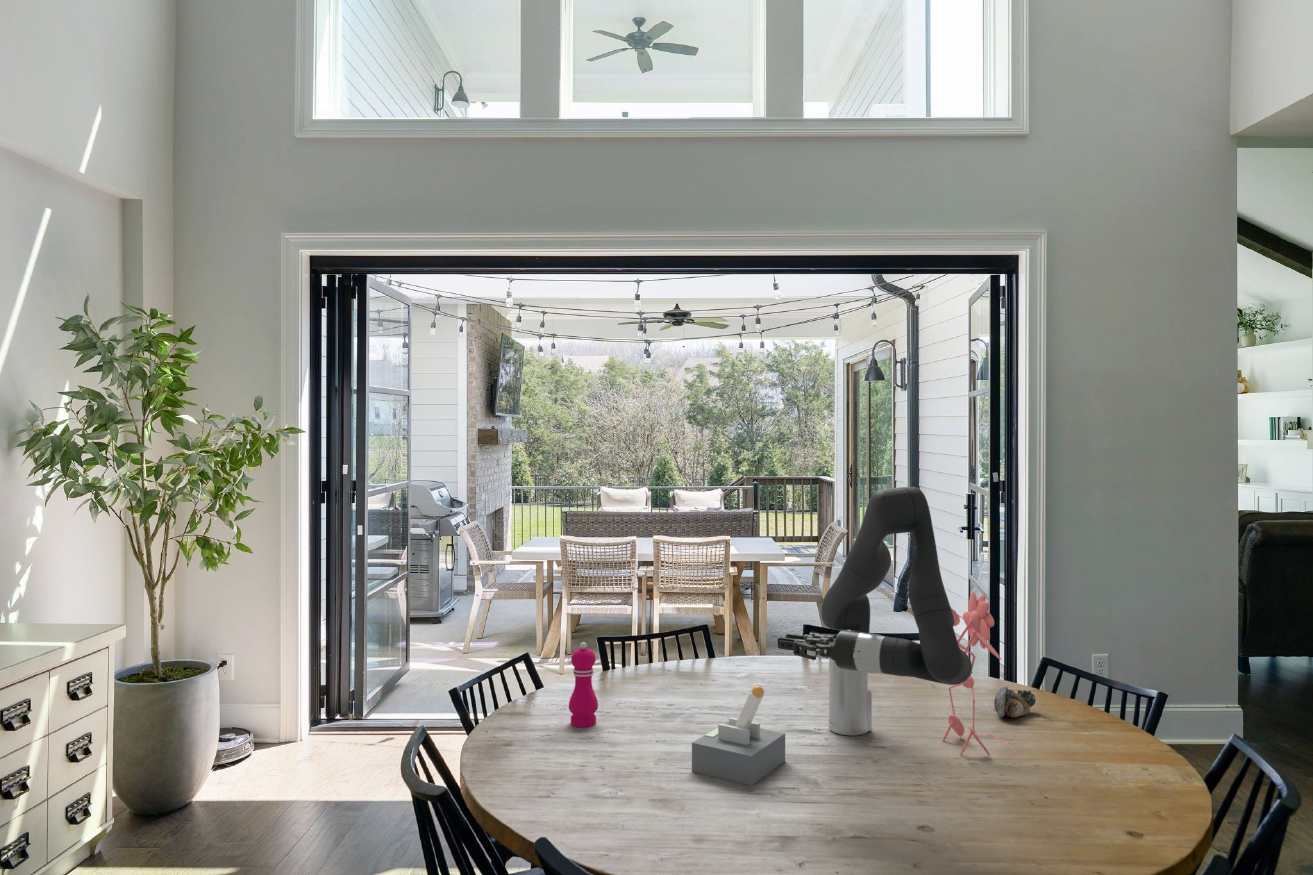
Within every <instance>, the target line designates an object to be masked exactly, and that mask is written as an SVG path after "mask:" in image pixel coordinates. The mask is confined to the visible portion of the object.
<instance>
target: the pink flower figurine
mask: <svg viewBox="0 0 1313 875" xmlns="http://www.w3.org/2000/svg"><path fill="white" fill-rule="evenodd" d="M967 609H968V611H964V612H963V613H962V620H963V622H964V624H965V625H966V626H965V628H964V630H963V631H962V632H961V634H960V635H959V637H958V638H957V642H958V645H959V647H960V649H961V650H962V651H964V652H965V653H966V654H967V653H968V654H969V655H971V656H972V659H971V664H972V670H973V668H974V665H975V660H976V655H975V654H974V653H973V652H972V651H970V650H969V649H970V647H975V646H976V645H977V644H978V642H979V645H980V647H981V648H982V649H984V650H985V649H987V650H988V651H989V652H990V653H991V654H992V655H993V656H994V657H996V658H997V659H998V660H1002V658H1001V657H1000V655H999V654H998V652H997V650H995V648H994V647H993V646H992V645H991V644H990V643H989V640H990V639H991V633H990V632H991V631H990V628H992V627H994V626H995V619H994V617H993V615H992V614H991V613H989V610H990V603H989V602H988V601H987V600H986V595H985V594H981V595H979V597H977V596H976V592H975V591H971V592H970V596H969V600H968V603H967ZM951 610H952V613H953V617H954V626H953V627H957V626H958V625H959V624H960V622H961V618H960V616H959V615H958V613H957V612H956V610H954V609H953V608H952V607H951ZM966 633H967V634H968V635H969V641H968V643H967V645H966V647H964V646H963V645H961V644H960V642H961V640H962V638H963V637H964V636H965V634H966ZM972 673H973V671H972V672H971V675H970V676H969V678H968V679H967V680H966V681H965V682H963V683H961V684H957V685H950V686H949V687H948V692H949V697H950V703H951V708H952V709H951V710H952V714H950V715H949V716H948V724H949V725H948V727H947V730H946V731H945V733H944V736H943V737H942V739H941V741H943V742H945V741H946V740H947V737H948V735H949V733H950V731H951V729H952V730H953V731H954V732H955V734H957V735H958V736H959V737H960V738H961V737H963V735H964V734H965V726H964V724H963V723H962V721H961V719H960V718H958V716H956V713H955V708H954V702H953V695H952V689H954V688H957V687H959V686H963V687H964V688H965V689H966V688H967V689H971V694H972V728H971V726H969V727H968V730H969V731H970V733H969V734H968V736H967V739H966V740H965V742H964V745H963V747H962V748H961V751H960V753H959V755H960V756H963V754H964V752H965V750H966V748H967V746H968V744H969V742H970V740H971V738H972V736H973V737H974V739H975V740H976V742H977V743H978V744H979V745H980V746H981V747H982V749H983V750H984V752H985V753H986V754H987V755H988V757H991V754H990V753H989V751H988V750H987V748H986V746H985V745H984V743H983V741H981V740H980V738H979V736H977V734H980V735H983V736H987V737H990V738H993V739H994V740H995V739H996V740H999V741H1000V742H1003V743H1005V744H1006V745H1008V746H1010V747H1011V748H1012V750H1014V751H1016V749H1014V747H1013V746H1012V744H1011V743H1010V742H1006V741H1004V740H1001V739H999V738H997V737H995V736H994V735H991V734H990V735H989V734H986V733H985V734H984V733H980V732H976V730H975V714H976V713H975V712H976V710H975V708H976V707H975V706H976V701H975V695H974V694H975V693H974V692H975V691H974V686H975V679H974V678H973V676H972ZM968 764H970V765H978V764H977V763H974V762H968Z"/></svg>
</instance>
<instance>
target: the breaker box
mask: <svg viewBox="0 0 1313 875" xmlns="http://www.w3.org/2000/svg"><path fill="white" fill-rule="evenodd" d="M737 721H738V718H736V717H730V718H729V719H728V722H726V723H719V724H718V726H717V727H716V728H715V729H713V730H711V731H709V732H707V733H706V734H704V735H702V736H701V737H699V738H697V739H695V740H693V741H692V742H691V772H694V773H697V774H701V775H704V776H705V775H706V776H710V777H714V778H718V779H722V780H725V781H730V782H734V783H739V784H743V785H745V786H751V787H752V786H754V784H756V783H757V782H759V781H760V780H761V779H763V778H765V776H767V775H769V774H770V773H771V772H772V771H774V770H775V769H777V768H778V767H779V766H781V765H782V764H783V763H785V762H786V733H785V732H780V731H776V730H775V731H774V730H770V729H764V728H761V723H760V722H757V721H752V723H751V725H750V727H749V729H745V728H740V727H736V726H735V725H736V723H737Z"/></svg>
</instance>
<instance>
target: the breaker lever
mask: <svg viewBox="0 0 1313 875" xmlns="http://www.w3.org/2000/svg"><path fill="white" fill-rule="evenodd" d="M764 696H765V690H764V688H763V687H762V686H761V685H754V686H753V687H752V689H751V692H749V694H748V696H747V698H746V700H745V703H744V705H743V708H742V710H741V712H740V713H739V716H738V718H737V719H738V721H737V723H736V725H735V726H736V727H740V728H745V729H749V727H750V725H751V723H752V722H753V720H754V717H755V716H756V713H757V712H758V709H759V707H760V705H761V702H762V700H763V697H764Z"/></svg>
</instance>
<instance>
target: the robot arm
mask: <svg viewBox="0 0 1313 875" xmlns="http://www.w3.org/2000/svg"><path fill="white" fill-rule="evenodd" d="M933 526H934V525H933V521H932V516H931V512H930V507H929V503H928V500H927V498H926V496H925V493H924V492H923V491H922V490H921V489H920V488H919V487H917V486H904V487H903V486H901V487H900V486H899V487H893V488H892V487H891V488H890V487H889V488H882V489H878V490H876V491H875V492H874V493H873V494H872V495H871V496H870V498H869V500H868V503H867V506H866V509H865V512H864V516H863V519H862V522H861V525H860V528H859V531H858V534H857V536H856V538H855V541H854V542H853V545H852V547H851V548H850V550H849V552H848V554H847V555H846V558H845V561H844V563H843V565H842V567H841V570H840V572H839V573H838V575H837V578H836V579H835V580H834V582H833V583H832V585H830V587H829V589H828V590H827V592H826V593H825V595H824V597H823V601H822V604H821V610H820V612H821V614H820V615H821V619H822V622H823V624H824V625H825V627H827V629H830V630H833V631H839V632H838V633H836V634H831V633H828V634H827V633H814V632H813V633H812V632H811V633H810V634H804V635H801V634H794V633H787V634H786V635H785V637H782V636H780V637H778V638H777V648H778V649H780V650H788V651H793V653H792V654H793V655H794V656H798V657H802V658H804V659H809V660H811V661H816V660H817V658H819V659H822V660H828V729H829V730H830V731H831V732H833V733H835V734H839V735H843V736H862V735H865V734H867V733H868V732H871V731H872V730H873V728H872V727H873V723H872V722H873V716H872V713H873V712H872V711H873V708H872V707H873V705H872V704H873V703H872V702H873V701H872V699H873V695H872V694H873V692H872V690H870V689H869V674H883V675H884V674H885V675H892V676H898V677H909V678H910V677H911V678H917V679H920V680H925V681H928V682H933V683H938V684H943V685H949V686H954V685H958V684H961V683H963V682H965V681H966V680H967V679H968V678H969V676H970V675H971V676H972V673H973V669H972V660H971V659H970V657H969V655H968V654H967V653H965V652H964V651H965V650H963V649H962V648H961V649H962V650H961V649H960V647H959V645H958V642H957V640H958V638H957V636H956V632H955V630H954V629H955V628H954V627H955V626H954V617H953V613H952V610H951V608H952V607H951V604H950V600H949V598H948V595H947V592H946V589H945V585H944V583H943V582H944V581H943V579H942V574H941V573H942V572H941V570H940V569H941V568H940V562H939V556H938V549H937V545H936V538H935V533H934V527H933ZM907 533H912V537H913V538H914V542H915V555H914V561H913V565H912V568H911V570H910V575H909V579H908V582H907V583H908V584H907V594H908V601H909V604H910V608H911V612H912V614H913V618H914V621H915V624H916V627H917V628H918V637H919V643H918V642H915V641H913V640H911V639H910V640H909V639H906V638H900V637H894V636H892V637H891V636H884V635H881V634H877V633H871V632H870V629H871V627H870V625H871V604H870V599H869V597H868V594H869V593H871V592H872V591H874V590H876V589H877V588H878V587H879V586H881V584H882V583H883V581H884V579H886V578H885V577H886V576H887V574H888V572H889V570H890V567H891V565H892V555H891V553H890V549H889V548H888V546H887V544H886V543H885V542H884V539H885V537H887V536H890V535H895V534H896V535H897V534H907ZM971 672H972V673H971Z"/></svg>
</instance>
